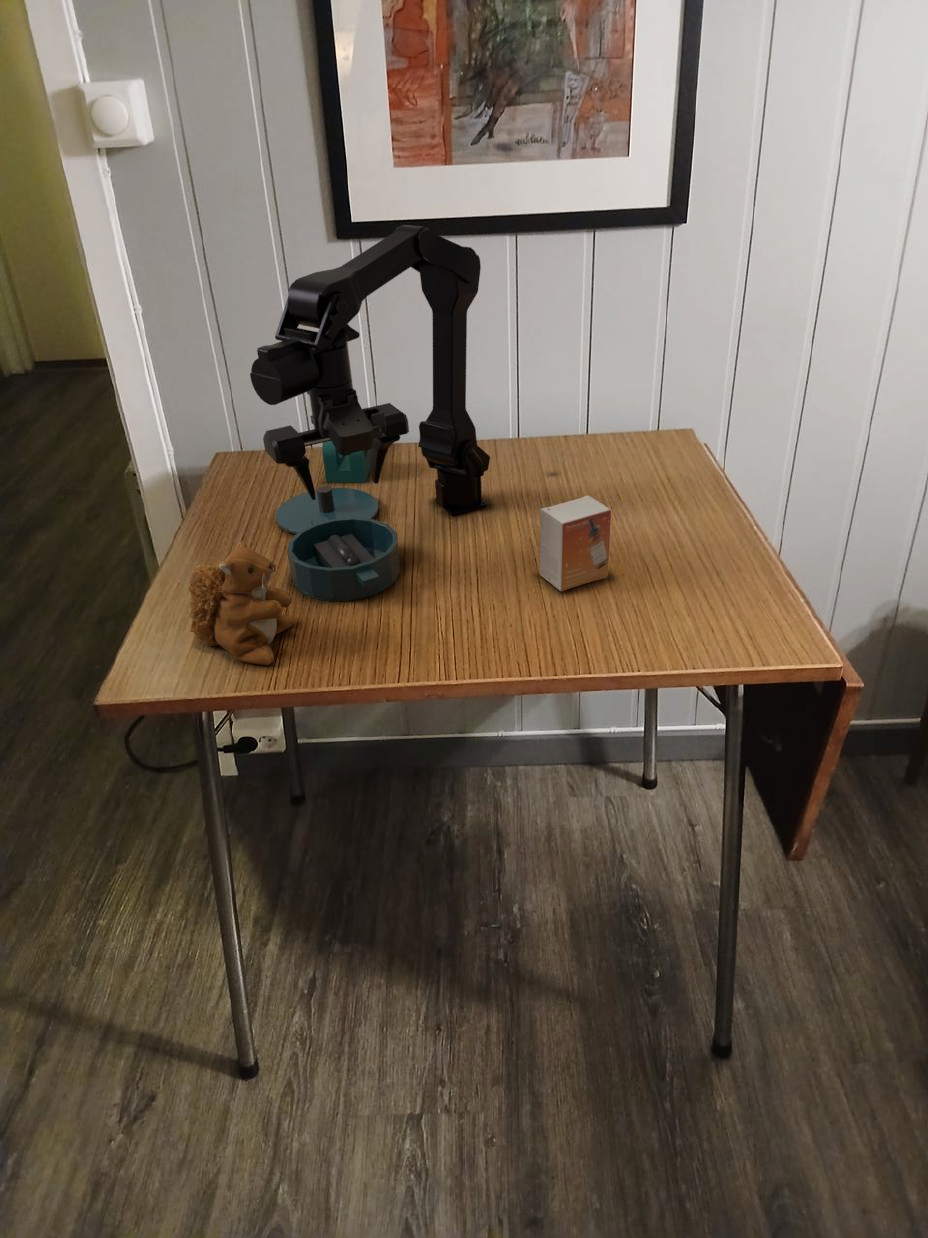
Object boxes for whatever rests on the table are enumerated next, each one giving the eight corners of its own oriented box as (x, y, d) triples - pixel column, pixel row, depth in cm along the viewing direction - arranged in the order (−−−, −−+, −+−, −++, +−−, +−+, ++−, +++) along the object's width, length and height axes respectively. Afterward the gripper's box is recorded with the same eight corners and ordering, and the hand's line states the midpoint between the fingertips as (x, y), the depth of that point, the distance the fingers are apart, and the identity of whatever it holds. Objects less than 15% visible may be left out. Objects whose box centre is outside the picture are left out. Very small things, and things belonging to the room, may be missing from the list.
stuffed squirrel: (275, 668, 114) (257, 576, 107) (174, 655, 118) (150, 565, 111) (307, 624, 122) (293, 536, 115) (212, 613, 126) (192, 527, 119)
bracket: (364, 482, 160) (359, 439, 155) (326, 482, 160) (320, 439, 156) (382, 441, 174) (378, 401, 170) (347, 441, 175) (342, 401, 171)
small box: (560, 593, 126) (561, 524, 120) (538, 575, 130) (538, 507, 125) (609, 577, 129) (612, 508, 123) (586, 560, 133) (588, 493, 127)
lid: (356, 485, 159) (353, 459, 156) (395, 522, 146) (392, 495, 144) (263, 508, 153) (259, 482, 150) (295, 549, 140) (291, 521, 138)
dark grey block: (353, 550, 138) (350, 526, 136) (379, 579, 131) (377, 554, 128) (315, 560, 136) (312, 536, 134) (339, 591, 128) (336, 566, 126)
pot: (369, 531, 144) (365, 501, 141) (426, 590, 128) (423, 558, 126) (273, 556, 139) (268, 527, 136) (320, 622, 123) (315, 589, 120)
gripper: (279, 414, 110) (299, 531, 119) (421, 383, 117) (430, 495, 126) (252, 388, 119) (273, 499, 127) (386, 360, 125) (397, 467, 134)
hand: (344, 490), depth 128 cm, fingers open, 9 cm apart
